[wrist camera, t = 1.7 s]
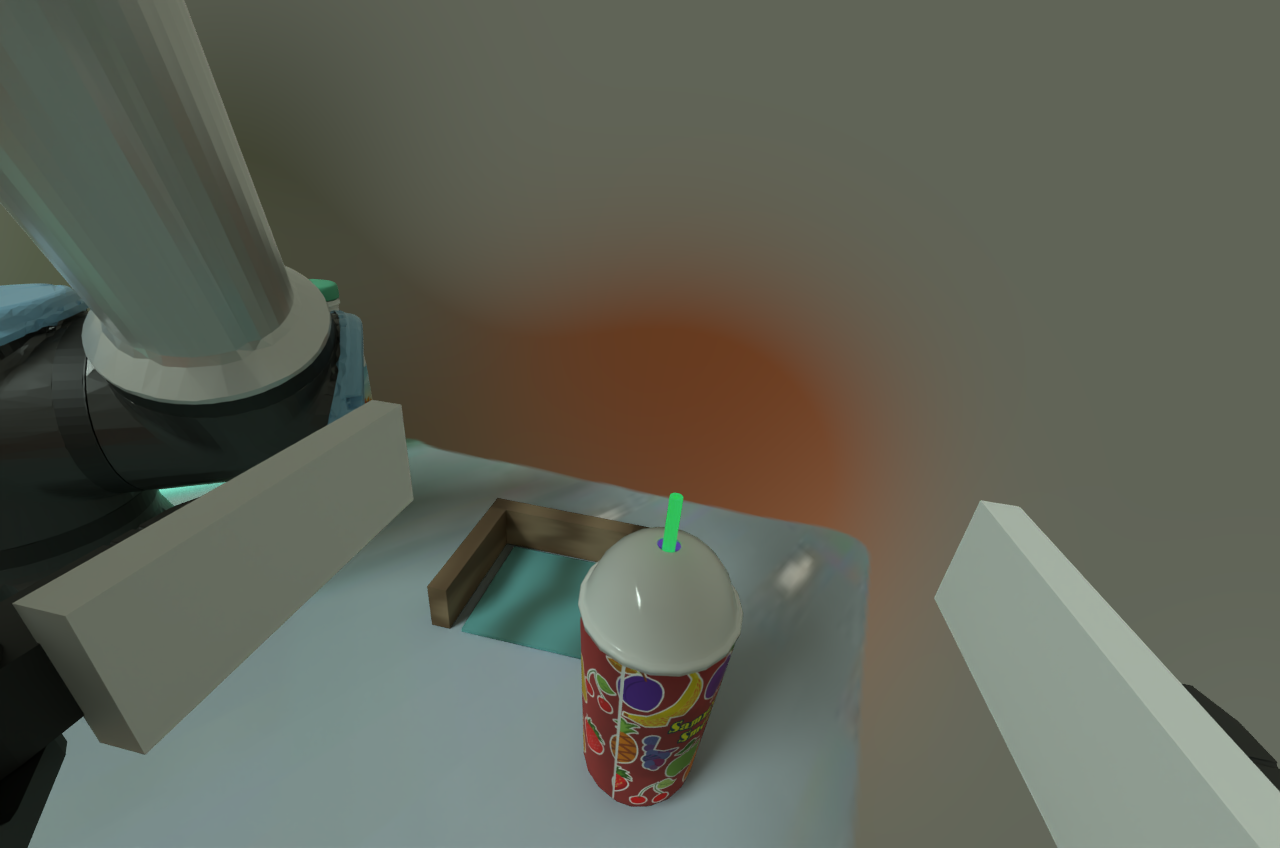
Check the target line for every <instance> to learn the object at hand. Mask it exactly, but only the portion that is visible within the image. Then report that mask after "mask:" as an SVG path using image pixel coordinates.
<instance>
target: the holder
mask: <svg viewBox="0 0 1280 848" xmlns="http://www.w3.org/2000/svg"><path fill="white" fill-rule="evenodd" d="M645 528H649V527H644V526H639V525H634V524H629V523H623V522H618V521H613V520H608V519H603V518H598V517H593V516H587V515H582V514H577V513H572V512H567V511H562V510H557V509H552V508H546V507H541V506H536V505H531V504H526V503H521V502H516V501H510V500H505V499H500V498H497V500H496V501H495V502H494V503H493V505H492V506H491V507H490V508H489V510H488V511H487V512H486V513H485V515H484V516H483V517H482V518H481V520H480V521H479V522H478V523H477V525H476V526H475V527H474V528H473V530H472V531H471V532H470V533H469V535H468V536H467V537H466V539H465V540H464V541H463V542H462V544H461V545H460V546H459V547H458V549H457V550H456V551H455V552H454V554H453V555H452V556H451V557H450V559H449V560H448V561H447V562H446V564H445V565H444V566H443V567H442V569H441V570H440V571H439V572H438V574H437V575H436V576H435V577H434V579H433V580H432V581H431V582H430V584H429V585H428V586H427V588H428V596H429V604H430V611H431V619H432V625H436V626H441V627H445V628H449V629H450V628H451V626H452V625H453V623H454V622H455V620H456V619H457V617H458V616H459V614H460V613H461V611H462V610H463V608H464V607H465V605H466V604H467V602H468V601H469V599H470V598H471V596H472V595H473V593H474V592H475V590H476V589H477V587H478V586H479V584H480V583H481V581H482V580H483V578H484V577H485V575H486V574H487V572H488V571H489V569H490V568H491V566H492V565H493V563H494V562H495V560H496V559H497V557H498V556H499V554H500V553H501V551H502V550H503V548H504V547H505V545H506V544H512V545H517V546H522V547H527V548H532V549H537V550H541V551H546V552H551V553H556V554H561V555H566V556H571V557H575V558H580V559H585V560H590V561H595V562H598V561H599V560H600V559H601V557H602V556H603V555H604V553H605V552H606V551H607V550H608V549H609V548H611V547H612V546H613V545H614V544H615V543H617V542H618V541H619V540H620V539H622V538H623V537H624V536H627V535H629V534H631V533H634V532H636V531H638V530H641V529H645ZM594 564H596V563H593V562H588V561H583V560H579V559H574V558H569V557H564V556H559V555H554V554H549V553H545V552H540V551H535V550H530V549H525V548H520V547H516V546H514V548H513V549H512V551H511V552H510V554H509V555H508V557H507V559H506V560H505V562H504V563H503V565H502V566H501V568H500V570H499V571H498V573H497V574H496V576H495V577H494V579H493V580H492V582H491V584H490V585H489V587H488V588H487V590H486V591H485V593H484V594H483V596H482V598H481V599H480V601H479V602H478V604H477V605H476V607H475V609H474V610H473V612H472V613H471V615H470V616H469V618H468V619H467V621H466V623H465V624H464V626H463V627H462V632H467V633H471V634H475V635H479V636H484V637H488V638H492V639H497V640H501V641H505V642H510V643H514V644H518V645H522V646H527V647H531V648H535V649H540V650H544V651H548V652H553V653H557V654H561V655H566V656H570V657H574V658H578V659H581V630H580V617H581V615H580V611H579V607H578V601H579V593H580V586H581V583H582V581H583V580H584V578H585V576H586V575H587V573H588V571H589V569H590V568H591V567H592V566H593V565H594Z"/></svg>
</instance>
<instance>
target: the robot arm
mask: <svg viewBox="0 0 1280 848" xmlns="http://www.w3.org/2000/svg"><path fill="white" fill-rule="evenodd" d="M0 203H1V204H2V205H3V207H4V208H5V209H6V210H7V211H8V212H9V214H10V215H11V216H12V217H13V218H14V220H15V221H16V222H17V223H18V224H19V226H20V227H21V228H22V229H23V230H24V231H25V233H26V234H27V235H28V236H29V237H30V238H31V240H32V241H33V242H34V243H35V244H36V246H37V247H38V248H39V249H40V250H41V251H42V253H43V254H44V255H45V256H46V257H47V259H48V260H49V261H50V262H51V263H52V264H53V266H54V267H55V268H56V269H57V270H58V271H59V273H60V274H61V275H62V276H63V277H64V279H65V280H66V281H67V282H68V283H69V284H70V286H71V287H72V288H73V289H72V288H70V287H68V286H64V285H56V286H55V285H52V284H20V285H5V286H0V848H27V847H28V845H29V843H30V840H31V838H32V835H33V833H34V830H35V828H36V826H37V823H38V821H39V818H40V816H41V813H42V811H43V809H44V806H45V804H46V801H47V799H48V796H49V794H50V791H51V789H52V787H53V784H54V782H55V779H56V777H57V774H58V772H59V770H60V767H61V765H62V762H63V760H64V757H65V755H66V746H67V741H66V739H65V738H64V736H63V735H62V733H63V732H64V731H65V730H67V729H68V728H69V727H70V726H72V725H73V724H74V723H75V722H77V721H78V720H79V719H80V718H82V717H83V716H84V718H85V720H86V721H87V723H88V724H89V726H90V728H91V729H92V731H93V732H94V734H95V735H96V737H97V739H98V740H99V742H100V743H104V744H108V745H111V746H115V747H119V748H122V749H126V750H130V751H133V752H137V753H141V754H144V755H145V754H146V753H148V752H149V751H150V750H151V749H152V748H153V747H154V746H155V745H156V744H157V743H158V742H159V741H160V740H161V739H162V738H163V737H164V736H165V735H166V734H168V733H169V732H170V731H171V730H172V729H173V728H174V727H175V726H176V725H177V724H178V723H179V722H180V721H181V720H182V719H183V718H184V717H185V716H186V715H188V714H189V713H190V712H191V711H192V710H193V709H194V708H195V707H196V706H197V705H198V704H199V703H200V702H201V701H202V700H203V699H204V698H205V697H206V696H208V695H209V694H210V693H211V692H212V691H213V690H214V689H215V688H216V687H217V686H218V685H219V684H220V683H221V682H222V681H223V680H224V679H225V678H226V677H228V676H229V675H230V674H231V673H232V672H233V671H234V670H235V669H236V668H237V667H238V666H239V665H240V664H241V663H242V662H243V661H244V660H245V659H246V658H248V657H249V656H250V655H251V654H252V653H253V652H254V651H255V650H256V649H257V648H258V647H259V646H260V645H261V644H262V643H263V642H264V641H265V640H267V639H268V638H269V637H270V636H271V635H272V634H273V633H274V632H275V631H276V630H277V629H278V628H279V627H280V626H281V625H282V624H283V623H284V622H285V621H287V620H288V619H289V618H290V617H291V616H292V615H293V614H294V613H295V612H296V611H297V610H298V609H299V608H300V607H301V606H302V605H303V604H304V603H305V602H307V601H308V600H309V599H310V598H311V597H312V596H313V595H314V594H315V593H316V592H317V591H318V590H319V589H320V588H321V587H322V586H323V585H324V584H325V583H327V582H328V581H329V580H330V579H331V578H332V577H333V576H334V575H335V574H336V573H337V572H338V571H339V570H340V569H341V568H342V567H343V566H344V565H345V564H347V563H348V562H349V561H350V560H351V559H352V558H353V557H354V556H355V555H356V554H357V553H358V552H359V551H360V550H361V549H362V548H363V547H364V546H365V545H367V544H368V543H369V542H370V541H371V540H372V539H373V538H374V537H375V536H376V535H377V534H378V533H379V532H380V531H381V530H382V529H383V528H384V527H385V526H387V525H388V524H389V523H390V522H391V521H392V520H393V519H394V518H395V517H396V516H397V515H398V514H399V513H400V512H401V511H402V510H403V509H404V508H405V507H407V506H408V505H409V504H410V503H411V502H412V501H413V500H414V499H413V491H412V483H411V476H410V468H409V461H408V453H407V445H406V438H405V431H404V424H403V415H402V407H401V405H399V404H394V403H387V402H381V401H375V400H371V401H369V402H367V403H366V404H365V391H364V355H363V328H362V323H361V319H360V318H359V317H357V316H356V315H354V314H349V313H344V312H343V311H340V310H339V311H338V310H333V311H331V312H330V310H329V307H328V304H327V302H326V300H325V298H324V296H323V294H322V293H321V292H320V290H319V289H318V288H317V287H316V286H315V285H314V284H313V283H312V282H311V281H310V280H308V279H307V278H306V277H304V276H303V275H302V274H300V273H298V272H296V271H295V270H293V269H291V268H288V267H286V266H284V264H283V261H282V259H281V256H280V253H279V251H278V248H277V246H276V243H275V240H274V237H273V235H272V232H271V229H270V227H269V224H268V221H267V219H266V216H265V213H264V211H263V208H262V206H261V203H260V200H259V198H258V195H257V192H256V190H255V187H254V185H253V182H252V179H251V176H250V174H249V171H248V168H247V166H246V163H245V160H244V158H243V155H242V153H241V150H240V147H239V144H238V142H237V139H236V137H235V134H234V131H233V129H232V126H231V123H230V121H229V118H228V115H227V113H226V110H225V107H224V105H223V102H222V99H221V97H220V94H219V92H218V89H217V86H216V84H215V81H214V78H213V76H212V73H211V70H210V67H209V65H208V62H207V59H206V57H205V54H204V52H203V49H202V46H201V44H200V41H199V38H198V36H197V33H196V30H195V28H194V25H193V23H192V20H191V17H190V14H189V12H188V9H187V6H186V4H185V1H184V0H0ZM87 308H90V311H89V312H88V311H87ZM222 482H226V483H224V484H222V485H221V486H219V487H217V488H215V489H214V490H212V491H210V492H208V493H206V494H205V495H203V496H201V497H198V498H196V499H193V500H190V501H187V502H185V503H182V504H179V505H176V506H174V505H172V504H171V503H170V502H169V501H168V500H167V499H166V498H165V497H164V496H163V495H162V494H161V493H160V492H159V490H158V489H167V488H176V487H185V486H194V485H203V484H212V483H222ZM934 599H935V601H936V603H937V605H938V606H939V609H940V611H941V613H942V615H943V617H944V619H945V621H946V623H947V625H948V627H949V629H950V631H951V633H952V635H953V637H954V639H955V641H956V643H957V645H958V647H959V649H960V651H961V653H962V655H963V657H964V659H965V661H966V663H967V666H968V668H969V669H970V672H971V674H972V675H973V678H974V680H975V682H976V684H977V686H978V688H979V690H980V692H981V694H982V696H983V698H984V700H985V702H986V704H987V706H988V708H989V710H990V712H991V714H992V716H993V718H994V720H995V722H996V724H997V726H998V728H999V730H1000V732H1001V734H1002V736H1003V738H1004V740H1005V742H1006V744H1007V746H1008V748H1009V750H1010V753H1011V754H1012V756H1013V758H1014V761H1015V762H1016V765H1017V767H1018V769H1019V771H1020V773H1021V775H1022V777H1023V779H1024V781H1025V783H1026V785H1027V787H1028V789H1029V791H1030V793H1031V795H1032V797H1033V799H1034V801H1035V803H1036V805H1037V807H1038V809H1039V811H1040V813H1041V815H1042V817H1043V819H1044V821H1045V823H1046V825H1047V827H1048V829H1049V831H1050V833H1051V835H1052V837H1053V840H1054V841H1055V844H1056V846H1057V848H1280V769H1278V767H1277V762H1276V761H1275V759H1274V758H1273V757H1272V756H1271V755H1270V754H1269V753H1268V752H1267V751H1266V750H1265V749H1264V748H1263V747H1262V746H1261V745H1260V744H1259V743H1258V742H1257V740H1256V739H1254V737H1253V736H1252V735H1251V734H1250V733H1249V732H1248V731H1247V730H1246V729H1245V728H1244V727H1243V726H1242V725H1241V724H1240V723H1239V722H1238V721H1237V720H1236V719H1234V718H1233V717H1232V716H1230V715H1229V714H1228V713H1226V712H1225V711H1224V710H1223V709H1221V708H1220V707H1219V706H1217V705H1216V704H1215V703H1214V702H1212V701H1211V700H1210V699H1208V698H1207V697H1206V696H1204V695H1203V694H1202V693H1200V692H1199V691H1198V690H1197V689H1195V688H1194V687H1193V686H1190V685H1186V684H1181V683H1180V682H1179V681H1178V680H1177V679H1176V678H1175V677H1174V675H1173V674H1172V673H1171V672H1170V671H1169V670H1168V669H1167V668H1166V667H1165V666H1164V664H1163V663H1162V662H1161V661H1160V660H1159V659H1158V658H1157V657H1156V656H1155V655H1154V653H1153V652H1152V651H1151V650H1150V649H1149V648H1148V647H1147V646H1146V645H1145V644H1144V643H1143V641H1142V640H1141V639H1140V638H1139V637H1138V636H1137V635H1136V634H1135V633H1134V632H1133V630H1132V629H1131V628H1130V627H1129V626H1128V625H1127V624H1126V623H1125V622H1124V621H1123V620H1122V618H1121V617H1120V616H1119V615H1118V614H1117V613H1116V612H1115V611H1114V610H1113V609H1112V608H1111V606H1110V605H1109V604H1108V603H1107V602H1106V601H1105V600H1104V599H1103V598H1102V597H1101V595H1100V594H1099V593H1098V592H1097V591H1096V590H1095V589H1094V588H1093V587H1092V586H1091V584H1090V583H1089V582H1088V581H1087V580H1086V579H1085V578H1084V577H1083V576H1082V575H1081V573H1080V572H1079V571H1078V570H1077V569H1076V568H1075V567H1074V566H1073V565H1072V564H1071V563H1070V561H1069V560H1068V559H1067V558H1066V557H1065V556H1064V555H1063V554H1062V553H1061V552H1060V550H1059V549H1058V548H1057V547H1056V546H1055V545H1054V544H1053V543H1052V542H1051V541H1050V540H1049V538H1048V537H1047V536H1046V535H1045V534H1044V533H1043V532H1042V531H1041V530H1040V529H1039V527H1037V525H1036V524H1035V523H1034V522H1033V521H1032V520H1031V519H1030V518H1029V517H1028V515H1027V514H1026V513H1025V512H1024V511H1023V510H1022V509H1021V508H1020V507H1018V506H1012V505H1006V504H1000V503H993V502H987V501H981V500H980V502H979V505H978V507H977V509H976V511H975V513H974V515H973V517H972V519H971V522H970V524H969V526H968V528H967V530H966V532H965V534H964V536H963V538H962V541H961V543H960V545H959V547H958V549H957V551H956V553H955V555H954V558H953V559H952V561H951V563H950V566H949V568H948V570H947V572H946V574H945V576H944V578H943V580H942V582H941V585H940V587H939V589H938V591H937V593H936V595H935V597H934Z"/></svg>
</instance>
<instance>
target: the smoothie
mask: <svg viewBox="0 0 1280 848" xmlns="http://www.w3.org/2000/svg"><path fill="white" fill-rule="evenodd" d="M682 503H683V496H682V495H681V494H679V493H672V494H670V498H669V505H668V511H667V518H666V525H665V527H652V528H645V529H641V530H638V531H636V532H634V533H631V534H629V535H627V536H624V537H623V538H622V539H620V540H619V541H618V542H617V543H615V544H614V545H613V546H612V547H611V548H609V549H608V550H607V551H606V552H605V553H604V555H603V556H602V557H601V559H600V560H599V561H598V562H597V563H596V564H594V565H593V566H592V567H591V568H590V569H589V571H588V573H587V575H586V576H585V578H584V580H583V581H582V583H581V586H580V593H579V601H578V607H579V611H580V615H581V617H580V630H581V666H582V702H583V739H584V755H585V759H586V763H587V767H588V771H589V772H590V774H591V775H592V777H593V779H594V780H595V782H596V783H597V785H598V786H599V787H600V788H601V789H602V790H603V791H605V792H606V793H607V794H608V795H609V796H611V797H612V798H613V799H614V800H616V801H617V802H620V803H623V804H626V805H629V806H651V805H653V804H656V803H659V802H661V801H664V800H666V799H668V798H669V797H671V796H672V795H673V794H674V793H675V792H676V791H677V790H678V789H680V788H681V787H682V785H683V783H684V781H685V779H686V777H687V776H688V774H689V772H690V769H691V766H692V763H693V761H694V758H695V755H696V752H697V749H698V747H699V744H700V741H701V738H702V735H703V732H704V730H705V727H706V724H707V721H708V718H709V716H710V713H711V710H712V707H713V704H714V702H715V699H716V696H717V693H718V690H719V688H720V685H721V682H722V679H723V676H724V673H725V671H726V668H727V665H728V662H729V659H730V657H731V654H732V651H733V648H734V645H735V642H736V641H737V639H738V637H739V636H740V633H741V626H742V619H743V611H742V607H741V603H740V599H739V595H738V593H737V591H736V590H735V588H734V587H733V585H732V583H731V580H730V577H729V574H728V572H727V570H726V568H725V567H724V565H723V564H722V562H721V561H720V559H719V558H718V556H717V555H716V553H715V552H714V551H713V550H712V549H711V548H710V547H708V546H707V545H706V544H705V543H704V542H703V541H701V540H700V539H699V538H697V537H695V536H693V535H691V534H689V533H687V532H685V531H681V530H678V528H679V522H680V516H681V509H682Z"/></svg>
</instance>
